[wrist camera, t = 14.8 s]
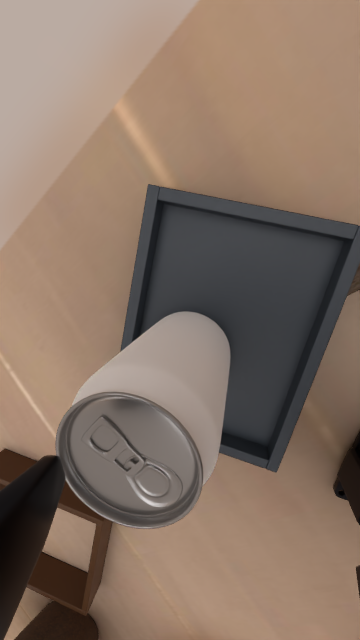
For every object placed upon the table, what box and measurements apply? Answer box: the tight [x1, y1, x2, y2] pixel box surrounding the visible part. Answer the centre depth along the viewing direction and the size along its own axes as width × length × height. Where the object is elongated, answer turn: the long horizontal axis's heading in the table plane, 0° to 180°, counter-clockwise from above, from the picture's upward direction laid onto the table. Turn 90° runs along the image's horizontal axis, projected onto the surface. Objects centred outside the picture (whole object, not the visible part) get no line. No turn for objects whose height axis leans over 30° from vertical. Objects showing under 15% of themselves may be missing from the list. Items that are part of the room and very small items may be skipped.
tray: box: [120, 184, 360, 472], centre depth 20 cm, size 14×18×2 cm
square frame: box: [0, 449, 112, 616], centre depth 28 cm, size 13×13×3 cm
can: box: [56, 311, 230, 529], centre depth 15 cm, size 6×6×12 cm
